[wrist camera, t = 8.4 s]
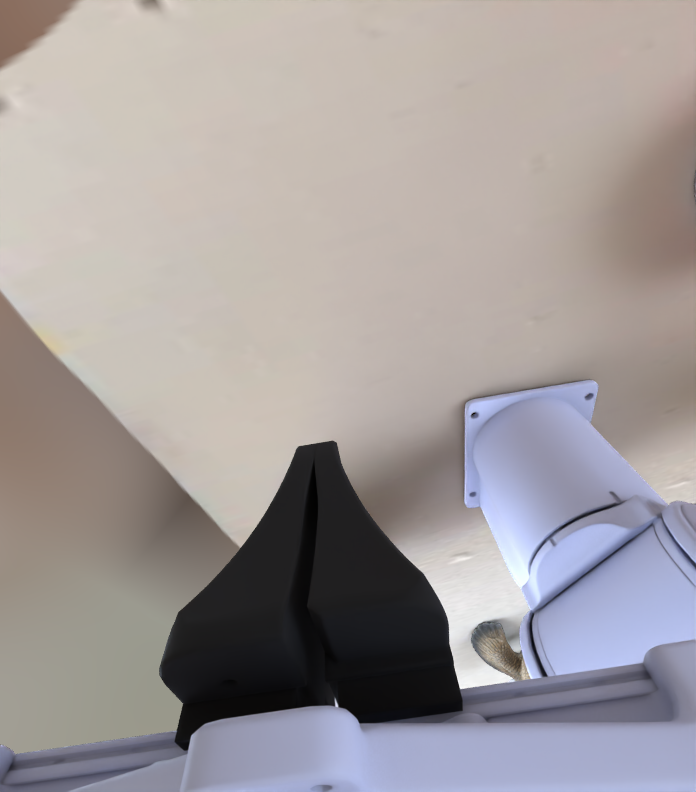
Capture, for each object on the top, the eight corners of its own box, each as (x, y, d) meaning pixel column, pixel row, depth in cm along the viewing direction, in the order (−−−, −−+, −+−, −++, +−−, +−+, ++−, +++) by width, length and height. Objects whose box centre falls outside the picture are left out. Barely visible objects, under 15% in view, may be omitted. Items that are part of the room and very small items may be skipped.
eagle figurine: (580, 639, 40) (537, 631, 35) (586, 727, 37) (539, 732, 32) (508, 623, 46) (463, 615, 41) (508, 699, 43) (458, 700, 38)
